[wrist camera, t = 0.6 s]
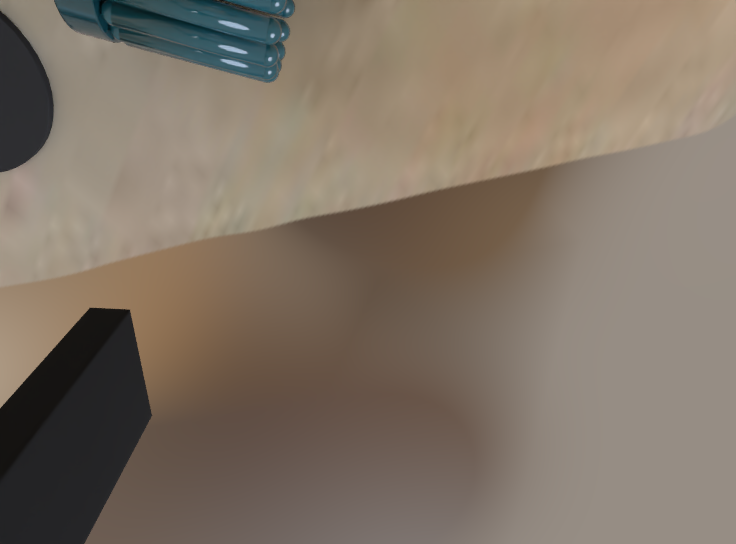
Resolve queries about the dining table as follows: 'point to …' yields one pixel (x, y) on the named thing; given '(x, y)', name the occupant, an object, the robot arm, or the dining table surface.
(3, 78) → the coaster
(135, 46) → the teal ridged cylinder
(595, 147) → the dining table surface
